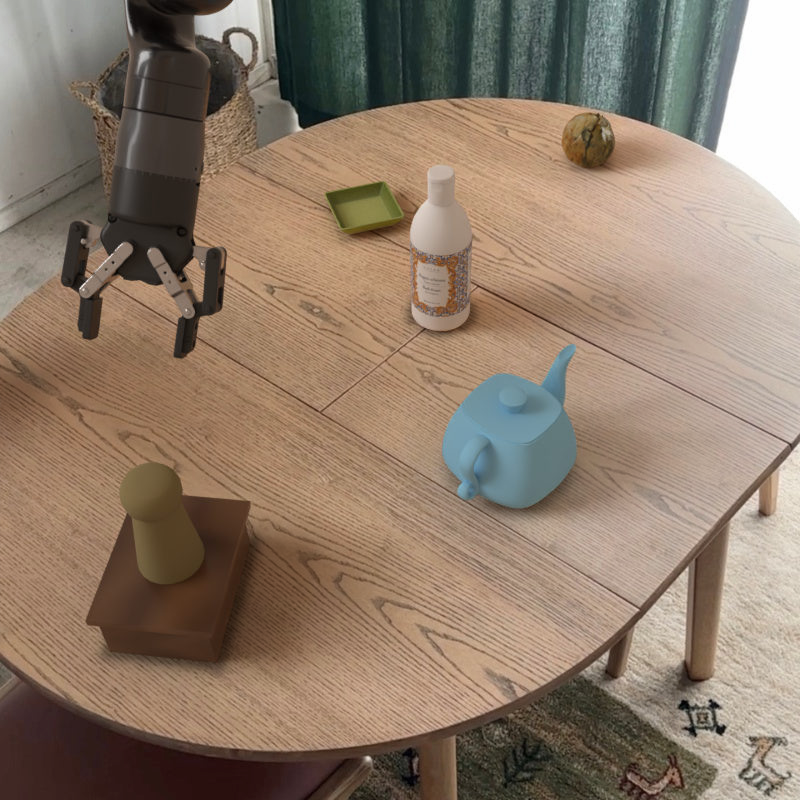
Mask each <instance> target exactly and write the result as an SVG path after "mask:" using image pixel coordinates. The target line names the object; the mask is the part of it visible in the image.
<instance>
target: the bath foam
mask: <svg viewBox="0 0 800 800" xmlns="http://www.w3.org/2000/svg"><path fill="white" fill-rule="evenodd" d="M426 180H427V198H426V200H425V201H424V202H423V203H422V204H421V206H420V207H419V208H418V209H417V211H416V213H415V214H414V216H413V218H412V222H411V225H410V231H409V260H410V262H409V263H410V264H409V265H410V298H411V299H410V301H411V315H412V318H413V319H414V321H415V322H416V323H417V324H418V325H419V326H421V327H422V328H425V329H427V330H430V331H435V332H447V331H452V330H454V329H457V328H460V327H461V326H462V325H463V324H464V323H465V322H466V321H467V319H468V318H469V315H470V314H471V313H470V311H471V293H472V292H471V291H472V263H473V262H472V260H473V259H472V258H473V231H472V230H473V229H472V224H471V221H470V217H469V216H468V214H467V212H466V210H465V209H464V208H463V206H462V205H461V204H460V203H459V201H458V200H457V199H456V172H455V169H454V168H453V167H452V166H450V165H447V164H435V165H433V166H431V167H430V168H429V169H428V170H427V179H426Z"/></svg>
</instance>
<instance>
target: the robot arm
mask: <svg viewBox="0 0 800 800" xmlns="http://www.w3.org/2000/svg"><path fill="white" fill-rule="evenodd" d="M233 1H234V0H123V6H124V19H125V32H126V38H127V45H128V46H127V47H128V53H129V59H128V65H127V71H126V80H125V86H124V87H125V88H124V96H123V97H124V98H123V104H122V106H123V108H122V112H121V117H120V121H119V124H118V127H117V132H116V139H115V147H114V156H113V163H112V171H111V173H112V174H111V181H110V190H109V199H108V205H107V206H108V207H107V220H106V222H105V224H104V226H100V225H97V224H93V222H92V221H90V220H89V219H83V220H82V219H81V220H74V221H72V222H71V223H70V224H69V228H68V234H67V239H66V244H65V252H64V257H63V262H62V263H63V264H62V269H61V276H60V284H61V285H62V286H63V287H65V288H70V289H71V290H73V291H75V292H76V294H78V296H79V308H78V317H77V330H78V332H81V337H82V339H83V340H88V341H93V340H96V339H98V337H99V334H100V326H101V317H102V309H103V300H104V297H101V294H102V293H103V292H104V291H105V290H106V289H107V288H108V287H109V286H110V285H111V284H113V282H115V281H116V280H117V279H118V278H119V277H121V278H122V280H123V281H124V280H125V281H129V282H137V281H139V282H142V283H144V284H147V285H149V286H154V287H158V286H161V285H163V286H164V287H165V289H166V291H167V293H168V295H169V296H170V298H172V299H173V300H174V302H175V304H176V306H177V307H178V309H179V311H180V313H181V316H180V317H178V318H177V325H176V332H175V333H176V334H175V340H174V347H173V358H176V359H180V360H183V359H185V358H186V357H187V356H188V355H189V354H190V353H192V352H193V351H194V350H195V348H196V346H197V345H196V344H197V337H198V330H199V323H200V319H201V318H202V317H206V316H208V317H210V316H213V315H214V314H217V313H220V312H221V311H222V310H223V307H224V296H225V295H224V294H225V284H226V272H227V271H226V270H227V260H228V259H227V258H228V251H227V249H226V248H225V247H224V246H222V245H221V246H214V247H213V246H203V245H197V243H196V241H195V237H194V231H195V226H196V217H197V210H198V204H199V203H198V202H199V196H200V189H201V180H202V175H203V174H204V168H205V161H204V158H205V150H206V120H207V115H208V105H209V98H210V90H211V85H212V84H211V83H212V64H211V63H212V62H211V60H210V59H209V57H208V56H207V55H206V54H205V53H204V52H203V51H201V50H200V49H198V48H197V45H196V32H195V29H196V28H195V27H196V26H195V16H197V17H198V16H199V17H202V16H204V17H205V16H210V15H213V14H217V13H219V12H222V11H223V10H224V9H226V8H227V7H229V6H230V5H231V4H232V3H233ZM99 239H100V242H101V244H102V246H103V247H104V250H105V252H106V255H107V258H106V259H105V260H104V261H103V262H102V263H101V264H100V265H99V266H98V267H97V268H96V269H95V270H94V271H93V273H92V275H91V276H90V277H87V276H86V272H87V268H88V267H87V266H88V260H89V254H90V249H91V248H93V247H95V246H96V245H97V242H98V241H99ZM194 259H197V261H198V266H199V268H200V270H201V271H203V272H204V278H203V290H202V291H203V292H202V301H201V300H199V298H198V295H197V294H196V292H195V290H194V285H193V283H192V281H191V278H190V276H189V275H188V273H187V271H186V269H185V268H186V267H187V265H189V264H190V263H191V261H193V260H194Z"/></svg>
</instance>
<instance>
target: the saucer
mask: <svg viewBox="0 0 800 800" xmlns="http://www.w3.org/2000/svg"><path fill="white" fill-rule="evenodd" d="M323 196H324V198H325V201H326V203H327V204H328V207H329V208H330V211H331V213H332V215H333V217H334V220H335V222H336V223H337V226H338V228H339V229H340V231H341V232H343V233H344V234H346V235H355V234H358V233H359V234H360V233H364V232H368V231H372V230H377V229H382V228H383V229H384V228H388V227H392V226H394V225H396V224H398V223H399V222H401V221H402V220H403V219H404V217H405V213H404V211H403V209H402V208H401V206H400V204H399V202H398V200H397V198H396V197H395V195H394V193H393V192H392V189H391V188H390V186H389V184H388V182H387V181H386V180H379V181H374V182H369V183H364V184H360V185H355V186H349V187H344V188H339V189H334V190H329V191H324V193H323Z"/></svg>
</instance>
